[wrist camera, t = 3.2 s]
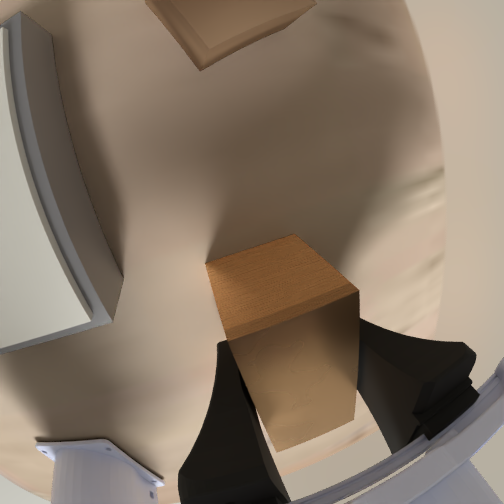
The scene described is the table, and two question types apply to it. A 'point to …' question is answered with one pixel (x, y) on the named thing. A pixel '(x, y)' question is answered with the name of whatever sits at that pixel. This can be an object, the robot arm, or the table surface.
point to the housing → (291, 336)
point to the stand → (44, 205)
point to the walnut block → (224, 23)
